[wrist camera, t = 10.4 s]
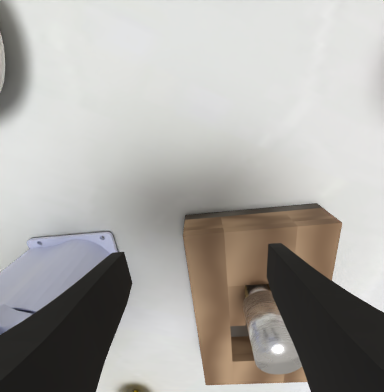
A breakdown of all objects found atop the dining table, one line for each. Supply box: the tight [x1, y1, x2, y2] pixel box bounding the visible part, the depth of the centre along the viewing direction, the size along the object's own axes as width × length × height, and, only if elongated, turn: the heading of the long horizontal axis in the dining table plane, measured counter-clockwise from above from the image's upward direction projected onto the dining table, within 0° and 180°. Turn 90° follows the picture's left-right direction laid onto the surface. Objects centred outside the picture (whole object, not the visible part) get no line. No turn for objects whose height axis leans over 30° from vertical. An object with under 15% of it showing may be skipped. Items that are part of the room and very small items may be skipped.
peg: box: [243, 284, 302, 374], centre depth 18 cm, size 5×5×8 cm
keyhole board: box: [183, 203, 342, 385], centre depth 23 cm, size 13×22×4 cm, turn 7°
